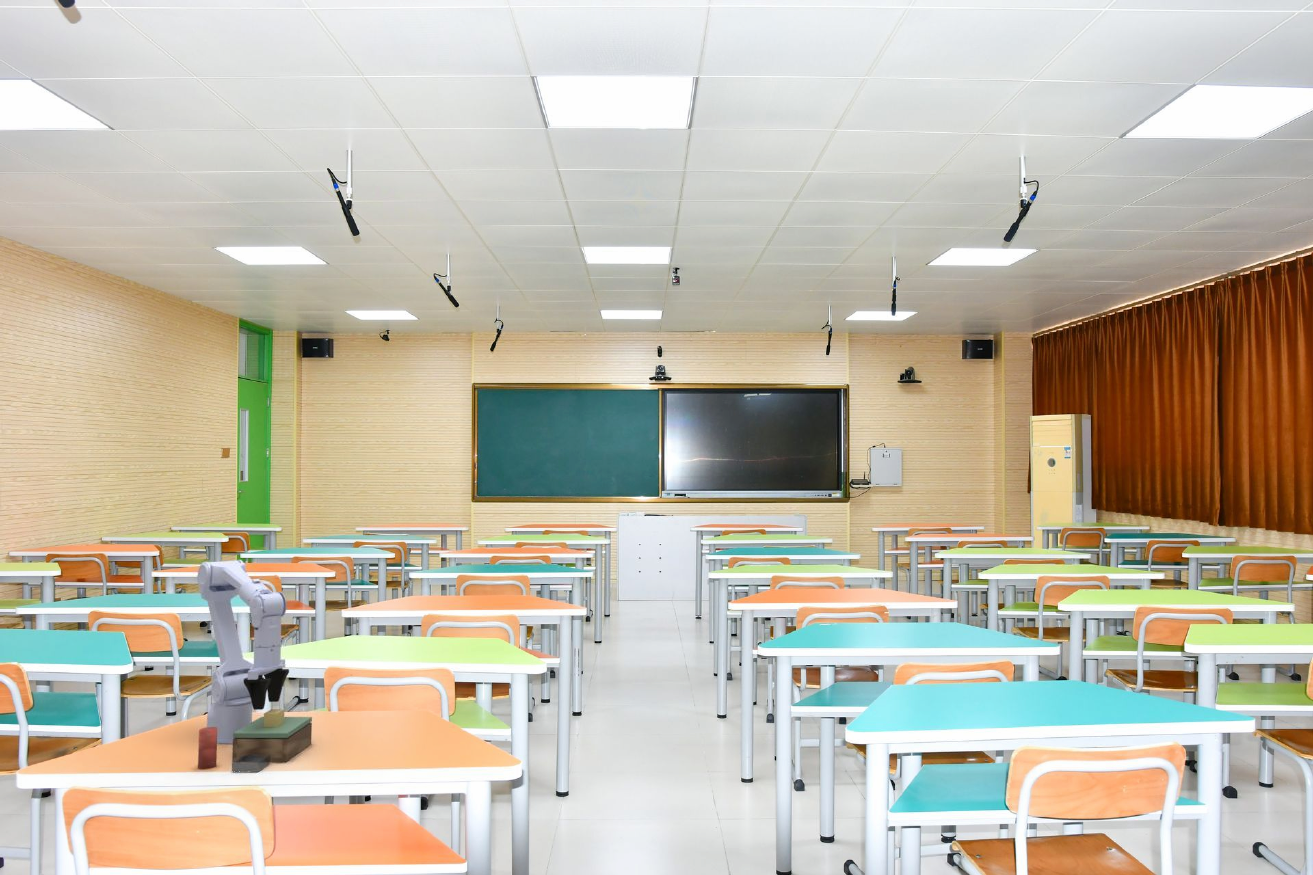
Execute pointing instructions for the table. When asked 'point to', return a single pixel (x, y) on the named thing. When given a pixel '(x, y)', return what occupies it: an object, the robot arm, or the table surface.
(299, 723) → the lid
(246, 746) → the wooden box
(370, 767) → the table surface
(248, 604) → the robot arm
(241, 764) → the key socket
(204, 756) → the key peg
